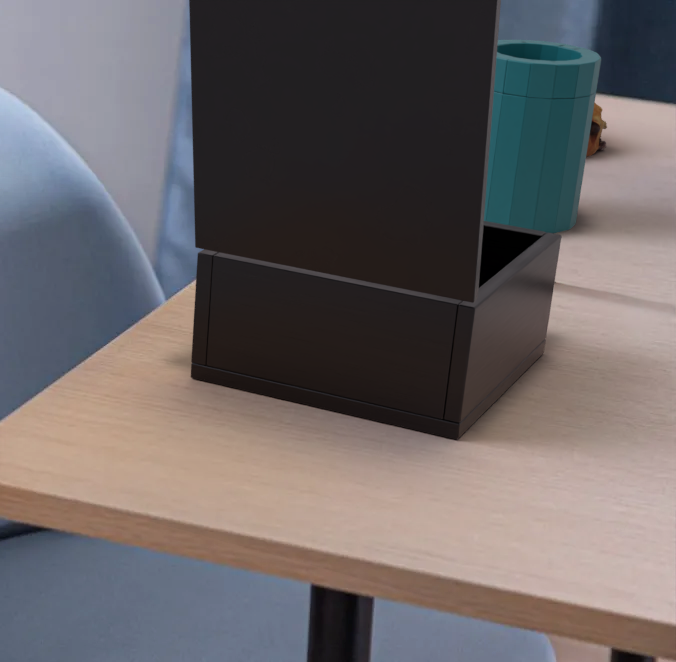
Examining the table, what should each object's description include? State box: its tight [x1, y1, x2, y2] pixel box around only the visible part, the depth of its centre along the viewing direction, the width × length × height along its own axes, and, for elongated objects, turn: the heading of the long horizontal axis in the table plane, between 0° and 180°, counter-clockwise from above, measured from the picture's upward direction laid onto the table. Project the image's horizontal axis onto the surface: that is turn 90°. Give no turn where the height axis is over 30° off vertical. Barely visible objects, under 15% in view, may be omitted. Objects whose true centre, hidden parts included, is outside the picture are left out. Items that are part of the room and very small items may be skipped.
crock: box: [484, 39, 602, 234], centre depth 109 cm, size 7×7×11 cm
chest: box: [190, 221, 562, 440], centre depth 87 cm, size 14×14×6 cm
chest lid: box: [188, 0, 502, 303], centre depth 76 cm, size 14×14×1 cm
